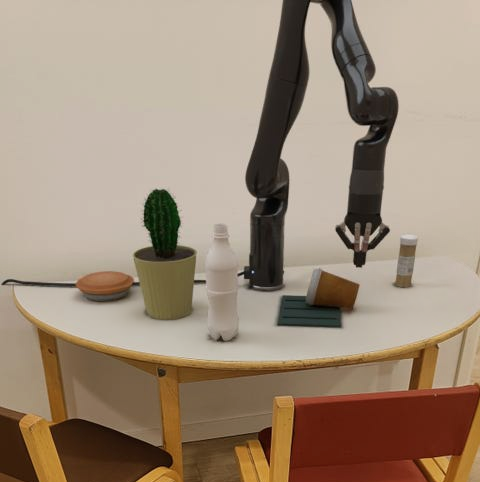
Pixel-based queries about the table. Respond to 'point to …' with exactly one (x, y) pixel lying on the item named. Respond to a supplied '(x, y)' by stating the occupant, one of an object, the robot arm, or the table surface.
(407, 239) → the sprinkles bottle
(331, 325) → the mat
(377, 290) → the table surface
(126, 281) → the pie
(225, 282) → the water bottle
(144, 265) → the potted cactus
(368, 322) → the table surface
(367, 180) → the robot arm
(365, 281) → the table surface
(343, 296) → the disposable coffee cup
